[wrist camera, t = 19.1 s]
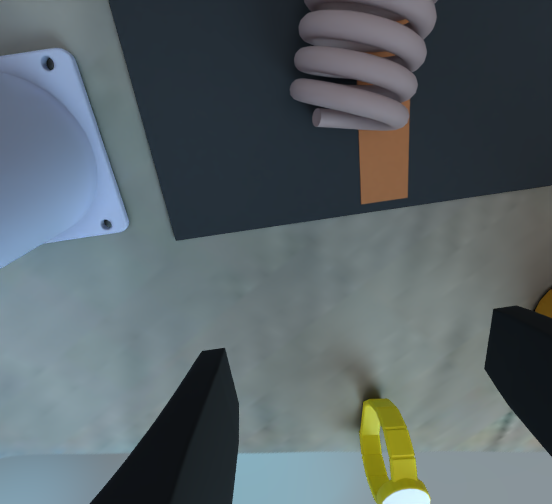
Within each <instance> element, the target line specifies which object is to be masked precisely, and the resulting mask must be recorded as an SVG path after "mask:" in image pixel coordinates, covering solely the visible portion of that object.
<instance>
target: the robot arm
mask: <svg viewBox="0 0 552 504" xmlns="http://www.w3.org/2000/svg"><path fill="white" fill-rule="evenodd" d="M49 58H51V59H52V60H53V62H54V68H53V70H49V68H48V67H47V60H48V59H49ZM104 220H109V221H110V222H111V224H112V227H108V226H106V225H105V223H104ZM128 225H129V219H128V216H127V213H126V210H125V207H124V204H123V201H122V198H121V195H120V192H119V189H118V186H117V183H116V180H115V177H114V174H113V171H112V168H111V165H110V162H109V159H108V156H107V153H106V150H105V147H104V144H103V141H102V138H101V135H100V132H99V129H98V126H97V123H96V120H95V117H94V114H93V111H92V108H91V105H90V102H89V99H88V96H87V93H86V90H85V87H84V84H83V81H82V78H81V75H80V72H79V69H78V66H77V63H76V60H75V58H74V56H73V55H72V54H71V53H70V52H69V51H67V50H65V49H62V48H50V49H43V50H37V51H30V52H24V53H17V54H10V55H4V56H0V269H1V268H2V267H4V266H6V265H7V264H9V263H11V262H13V261H14V260H16V259H18V258H19V257H21V256H23V255H24V254H26V253H28V252H29V251H31V250H33V249H34V248H36V247H38V246H40V245H41V244H44V243H50V242H57V241H64V240H71V239H77V238H84V237H91V236H98V235H104V234H111V233H118V232H122V231H124V230H125V229H126V228H127V227H128ZM484 369H485V370H486V372H487V374H488V375H489V377H490V378H491V380H492V381H493V383H494V385H495V386H496V388H497V389H498V391H499V392H500V394H501V395H502V396H503V398H504V399H505V401H506V402H507V404H508V405H509V406H510V408H511V409H512V410H513V411H514V413H515V414H516V415H517V416H518V417H519V419H520V420H521V421H522V422H523V423H524V425H525V426H526V427H527V428H528V429H529V431H530V432H531V433H532V434H533V435H534V437H535V438H536V439H537V440H538V441H539V442H540V444H541V445H542V446H543V447H544V448H545V449H546V451H547V452H548V453H549V454H550V455H551V456H552V318H550V317H547V316H545V315H542V314H539V313H537V312H534V311H531V310H528V309H525V308H522V307H519V306H511V307H504V308H497V309H493V315H492V322H491V328H490V335H489V341H488V348H487V354H486V361H485V368H484ZM238 444H239V402H238V398H237V394H236V390H235V386H234V382H233V378H232V374H231V370H230V366H229V362H228V358H227V354H226V350H225V348H220V349H213V350H206V351H202V352H201V353H200V355H199V356H198V358H197V359H196V361H195V362H194V364H193V365H192V367H191V369H190V370H189V372H188V373H187V375H186V376H185V378H184V379H183V381H182V382H181V384H180V385H179V387H178V389H177V390H176V392H175V393H174V395H173V396H172V397H171V399H170V400H169V402H168V403H167V405H166V406H165V408H164V409H163V410H162V412H161V413H160V415H159V416H158V418H157V419H156V420H155V422H154V423H153V425H152V426H151V427H150V429H149V430H148V431H147V433H146V434H145V435H144V437H143V438H142V439H141V441H140V442H139V443H138V445H137V446H136V447H135V449H134V450H133V451H132V453H131V454H130V455H129V456H128V458H127V459H126V460H125V462H124V463H123V464H122V466H121V467H120V468H119V469H118V470H117V472H116V473H115V474H114V475H113V477H112V478H111V479H110V480H109V481H108V483H107V484H106V485H105V486H104V487H103V489H102V490H101V491H100V492H99V494H98V495H97V496H96V497H95V498H94V499H93V500H92V502H91V503H90V504H232V499H233V490H234V481H235V472H236V463H237V454H238Z"/></svg>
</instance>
